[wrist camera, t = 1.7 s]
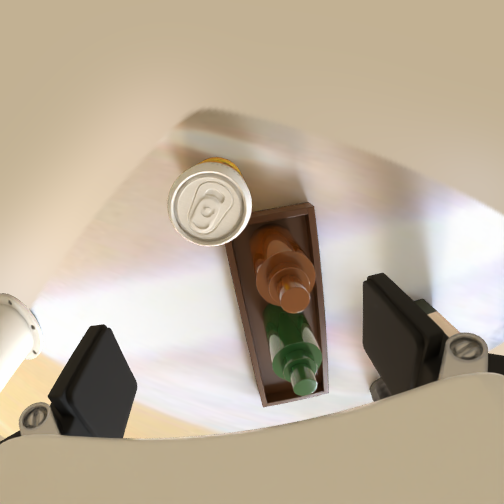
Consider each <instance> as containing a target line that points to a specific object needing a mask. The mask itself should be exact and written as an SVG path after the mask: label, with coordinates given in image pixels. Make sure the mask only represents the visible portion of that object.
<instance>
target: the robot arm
mask: <svg viewBox="0 0 504 504" xmlns="http://www.w3.org/2000/svg"><path fill="white" fill-rule="evenodd" d="M363 346H364V349H365V351H366V353H367V355H368V356H369V358H370V359H371V361H372V363H373V364H374V366H375V368H376V369H377V371H378V373H379V375H380V376H381V378H382V380H383V381H384V383H385V385H386V386H387V388H388V390H389V392H390V393H391V395H392V396H390V397H387V398H384V399H381V400H378V401H375V402H372V403H368V404H365V405H361V406H358V407H354V408H351V409H347V410H344V411H340V412H336V413H332V414H328V415H324V416H320V417H316V418H312V419H307V420H303V421H298V422H293V423H288V424H283V425H277V426H272V427H266V428H260V429H254V430H247V431H240V432H232V433H224V434H214V435H204V436H191V437H175V438H123V436H124V432H125V428H126V425H127V421H128V418H129V414H130V411H131V407H132V404H133V401H134V397H135V394H136V391H137V382H136V380H135V378H134V376H133V374H132V372H131V370H130V368H129V366H128V364H127V362H126V360H125V358H124V356H123V354H122V352H121V349H120V347H119V345H118V343H117V341H116V339H115V337H114V334H113V332H112V330H111V329H110V328H107V326H106V325H104V324H103V325H95V326H90V327H89V329H88V330H87V332H86V333H85V335H84V337H83V338H82V340H81V341H80V343H79V344H78V346H77V348H76V349H75V351H74V352H73V354H72V356H71V357H70V359H69V361H68V362H67V364H66V366H65V367H64V369H63V371H62V372H61V374H60V376H59V377H58V379H57V381H56V382H55V384H54V386H53V388H52V389H51V391H50V393H49V395H48V398H49V399H50V401H51V402H52V403H51V405H50V406H49V405H48V404H46V403H43V402H39V403H35V404H32V405H30V406H29V407H27V408H26V409H25V410H24V411H23V413H22V414H21V416H20V419H19V427H20V431H18V432H16V433H14V434H13V435H11V436H9V437H7V438H6V439H4V440H2V441H0V504H504V356H502V355H495V354H489V353H488V347H487V344H486V342H485V341H484V340H483V339H482V338H481V337H479V336H477V335H475V334H471V333H458V334H455V335H453V336H451V337H450V338H449V337H448V336H447V335H446V334H445V333H444V331H443V330H442V329H441V328H440V327H439V326H438V325H437V324H436V323H435V322H434V321H433V320H432V319H431V318H430V317H429V316H428V315H427V314H426V313H425V312H424V311H423V310H422V309H421V308H420V307H419V306H418V305H417V304H416V303H415V302H414V301H413V300H412V299H411V298H410V297H409V296H408V295H407V294H406V293H405V292H403V291H402V290H401V289H400V288H399V287H398V286H397V285H396V284H395V283H394V282H393V281H392V280H391V279H390V278H388V277H387V276H386V275H385V274H384V273H379V274H375V275H371V276H368V277H367V281H364V282H363ZM42 348H43V335H42V332H41V329H40V326H39V324H38V322H37V320H36V319H35V317H34V315H33V314H32V313H31V311H30V310H29V309H28V308H27V307H26V306H25V305H24V304H23V303H22V302H21V301H20V300H18V299H17V298H15V297H13V296H11V295H9V294H4V293H2V294H0V392H1V391H2V389H3V388H4V386H5V385H6V383H7V382H8V381H9V379H10V378H11V376H12V375H13V373H14V372H15V371H16V369H17V368H18V367H19V365H20V364H21V362H22V361H23V360H24V359H28V360H29V359H34V358H36V357H37V356H38V355H39V353H40V352H41V350H42Z"/></svg>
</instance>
